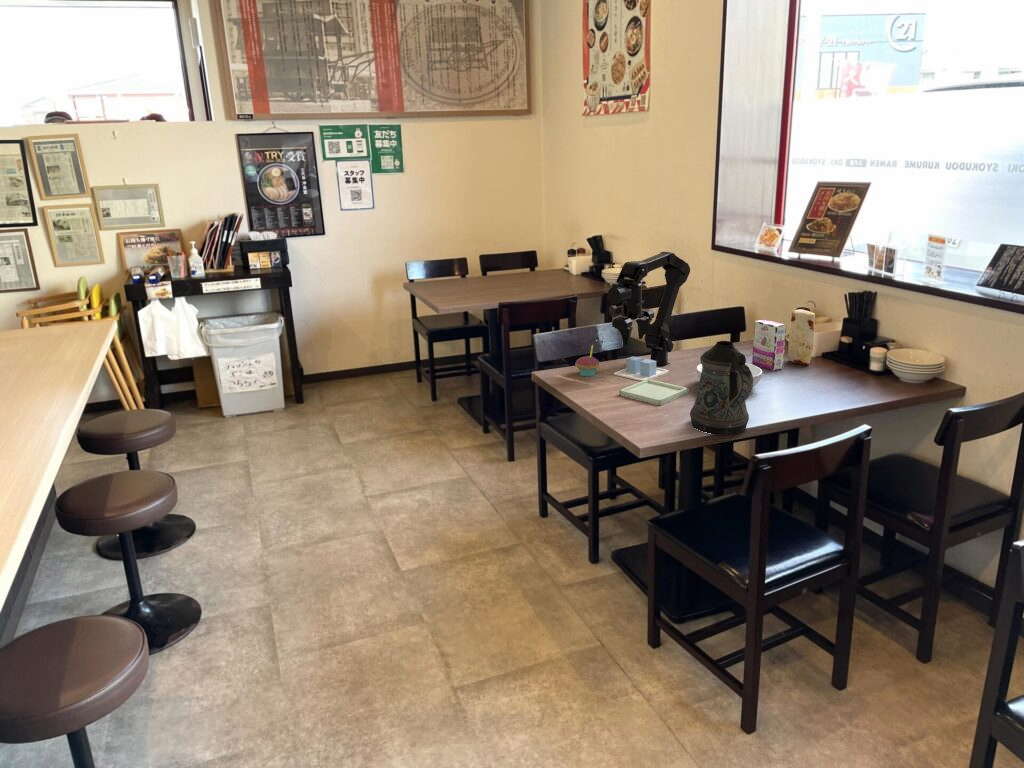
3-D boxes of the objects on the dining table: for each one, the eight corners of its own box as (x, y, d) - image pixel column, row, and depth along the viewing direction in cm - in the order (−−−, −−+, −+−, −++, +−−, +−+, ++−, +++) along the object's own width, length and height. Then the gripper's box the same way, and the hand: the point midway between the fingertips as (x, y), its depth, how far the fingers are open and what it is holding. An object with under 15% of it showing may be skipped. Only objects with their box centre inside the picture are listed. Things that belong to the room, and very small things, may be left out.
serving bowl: (764, 399, 238) (765, 379, 236) (696, 397, 242) (697, 377, 240) (757, 380, 257) (758, 360, 255) (694, 378, 261) (695, 359, 259)
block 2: (646, 372, 267) (647, 359, 266) (656, 374, 265) (656, 361, 263) (640, 375, 265) (640, 361, 263) (649, 377, 262) (649, 363, 260)
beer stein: (705, 411, 229) (709, 332, 221) (767, 424, 217) (773, 341, 209) (679, 427, 217) (682, 344, 209) (743, 442, 205) (749, 354, 197)
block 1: (633, 369, 271) (633, 356, 270) (642, 371, 269) (642, 358, 267) (626, 371, 269) (626, 358, 267) (635, 374, 266) (635, 360, 265)
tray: (647, 383, 257) (648, 378, 256) (688, 393, 246) (688, 388, 245) (619, 395, 246) (619, 390, 246) (659, 405, 235) (660, 400, 235)
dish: (638, 366, 276) (638, 363, 276) (668, 373, 267) (668, 370, 267) (613, 376, 266) (613, 373, 266) (643, 383, 257) (643, 380, 257)
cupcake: (599, 372, 271) (599, 340, 268) (599, 379, 263) (599, 346, 260) (575, 372, 272) (575, 340, 269) (575, 379, 264) (574, 346, 261)
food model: (782, 362, 276) (787, 308, 270) (794, 358, 280) (799, 306, 274) (805, 367, 268) (810, 313, 262) (817, 364, 272) (822, 310, 266)
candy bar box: (783, 369, 268) (787, 324, 263) (773, 371, 266) (776, 326, 261) (761, 362, 277) (764, 318, 272) (751, 364, 275) (754, 320, 270)
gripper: (628, 291, 271) (628, 333, 276) (598, 301, 258) (599, 345, 263) (655, 294, 264) (655, 337, 269) (626, 305, 251) (626, 349, 256)
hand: (633, 341), depth 265 cm, fingers open, 9 cm apart
